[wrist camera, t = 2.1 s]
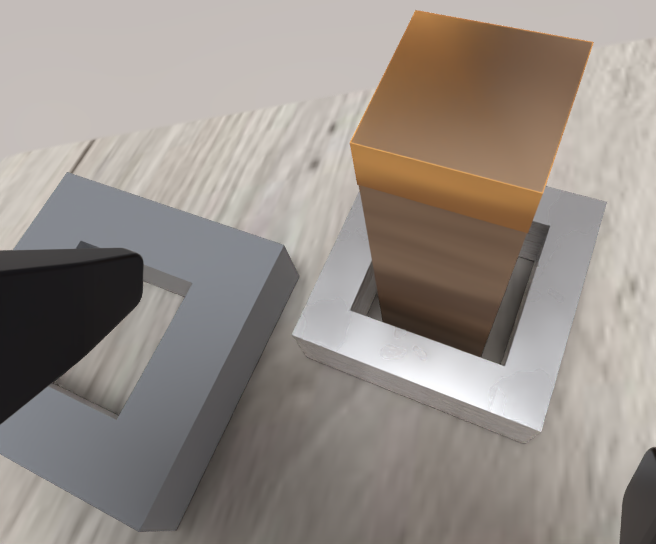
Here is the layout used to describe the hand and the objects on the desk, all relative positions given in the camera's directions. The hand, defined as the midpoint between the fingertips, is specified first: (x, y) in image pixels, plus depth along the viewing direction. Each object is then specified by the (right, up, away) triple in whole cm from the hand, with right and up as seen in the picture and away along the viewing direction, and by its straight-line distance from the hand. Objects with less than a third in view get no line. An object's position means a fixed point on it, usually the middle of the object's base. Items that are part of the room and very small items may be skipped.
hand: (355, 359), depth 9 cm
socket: (-9, -2, +15) cm, 17 cm away
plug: (+4, 0, +13) cm, 14 cm away
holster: (+4, 0, +13) cm, 14 cm away
